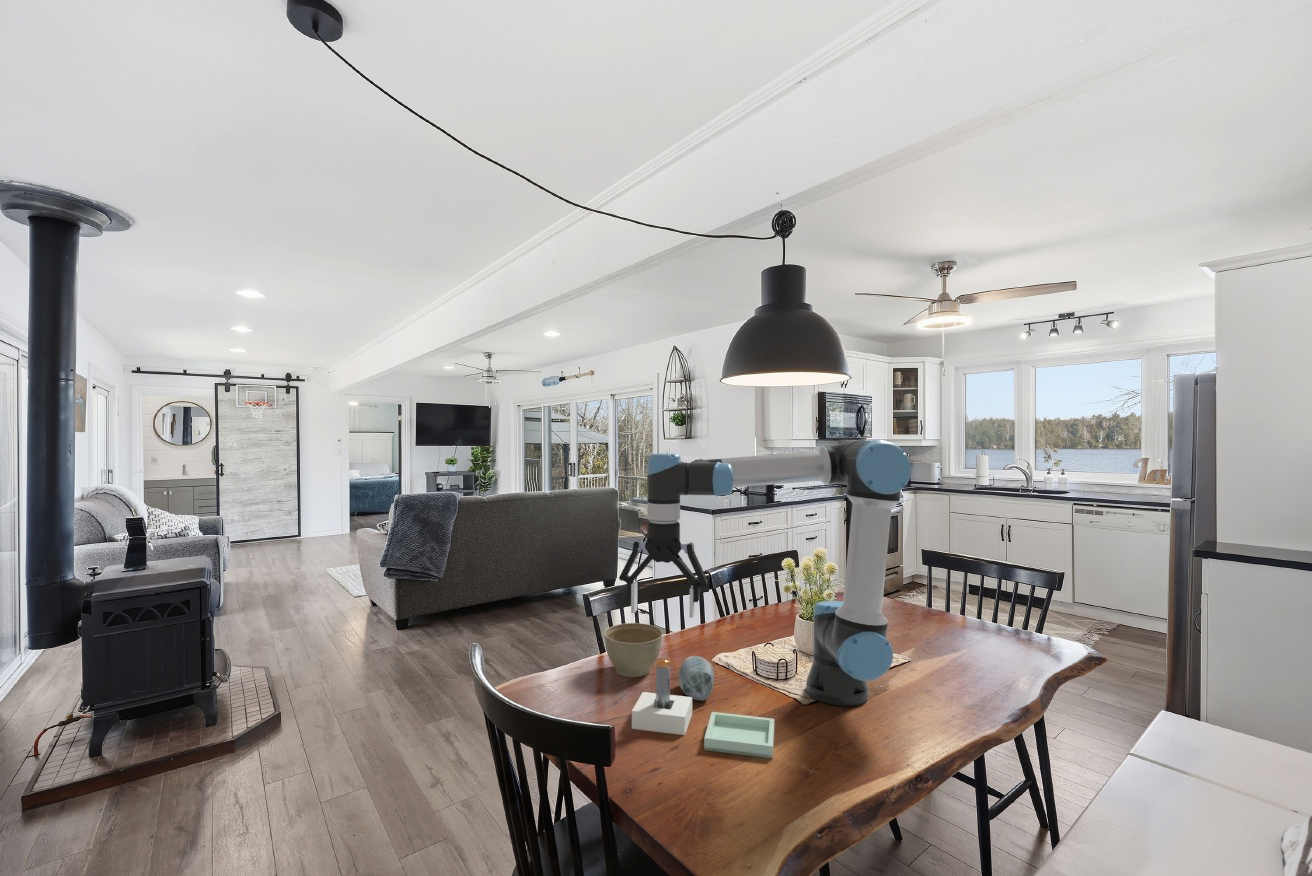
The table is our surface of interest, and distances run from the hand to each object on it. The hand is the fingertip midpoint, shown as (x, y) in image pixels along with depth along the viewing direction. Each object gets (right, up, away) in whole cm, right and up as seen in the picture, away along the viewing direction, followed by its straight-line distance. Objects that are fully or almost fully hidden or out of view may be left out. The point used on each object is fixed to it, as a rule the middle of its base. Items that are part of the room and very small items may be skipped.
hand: (662, 613), depth 136 cm
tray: (+17, -25, -8) cm, 31 cm away
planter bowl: (-8, -25, +28) cm, 38 cm away
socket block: (0, -25, 0) cm, 25 cm away
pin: (0, -25, 0) cm, 25 cm away
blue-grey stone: (+9, -25, +15) cm, 30 cm away
